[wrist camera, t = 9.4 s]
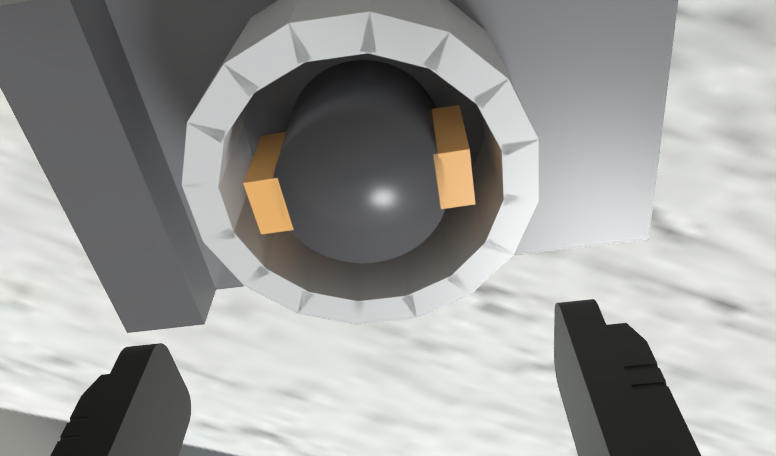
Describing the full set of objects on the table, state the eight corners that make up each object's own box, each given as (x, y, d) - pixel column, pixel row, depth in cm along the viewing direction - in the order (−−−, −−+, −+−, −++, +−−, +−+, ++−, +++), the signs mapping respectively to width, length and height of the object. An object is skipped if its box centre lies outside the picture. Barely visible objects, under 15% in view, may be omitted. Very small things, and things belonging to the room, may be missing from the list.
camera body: (613, -136, 23) (766, -93, 14) (596, 153, 30) (692, 310, 20) (89, -54, 24) (-85, 34, 15) (187, 204, 31) (108, 373, 22)
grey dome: (451, 44, 19) (463, 94, 16) (466, 181, 22) (480, 248, 19) (252, 77, 20) (225, 132, 17) (291, 206, 23) (275, 275, 19)
